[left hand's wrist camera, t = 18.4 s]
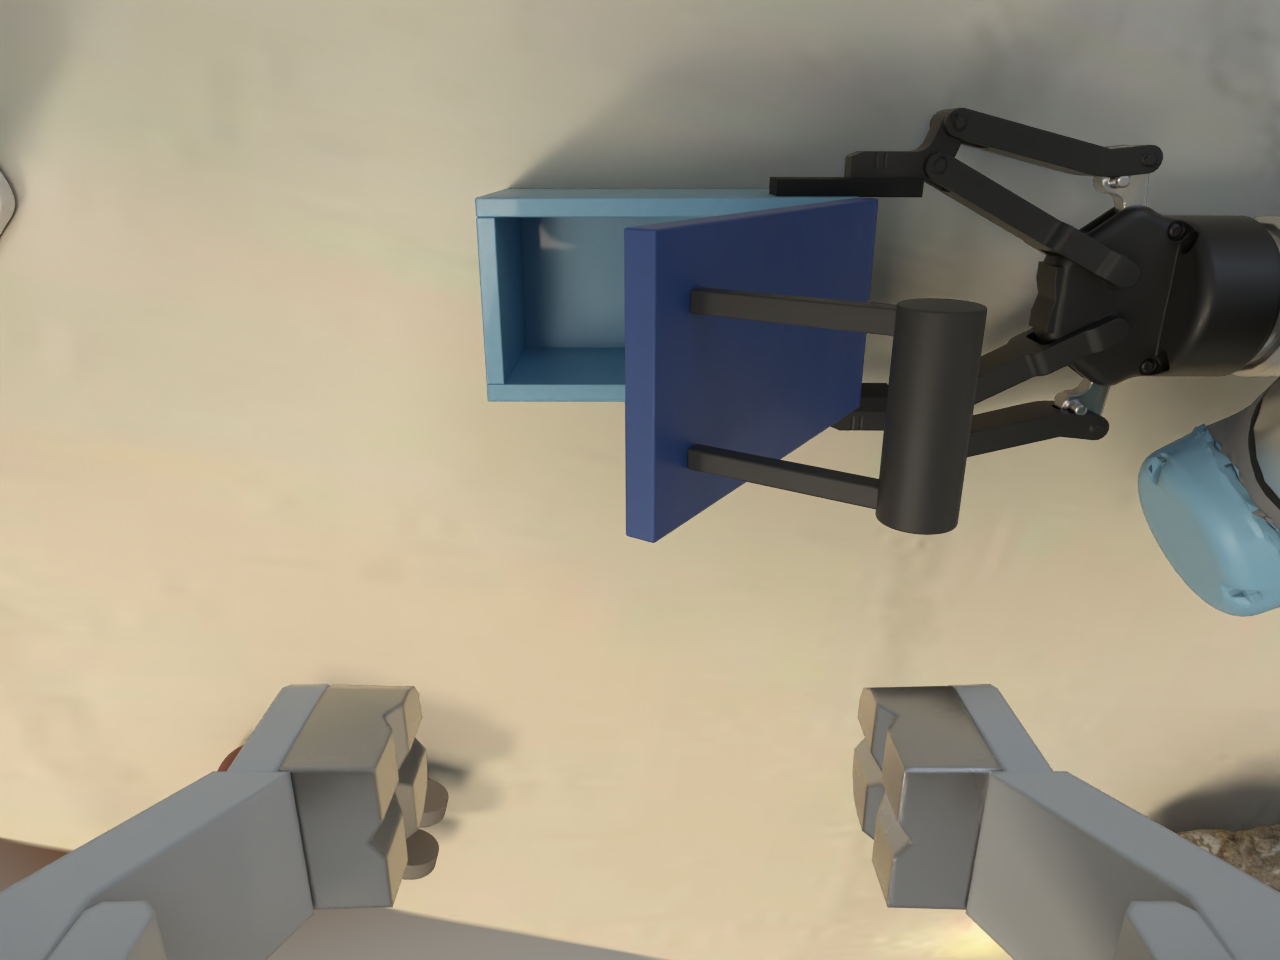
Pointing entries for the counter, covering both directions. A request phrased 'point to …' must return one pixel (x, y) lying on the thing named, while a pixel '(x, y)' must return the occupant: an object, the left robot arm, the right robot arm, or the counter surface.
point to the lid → (785, 367)
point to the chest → (574, 281)
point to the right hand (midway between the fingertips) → (767, 296)
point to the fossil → (1244, 850)
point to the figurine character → (420, 843)
